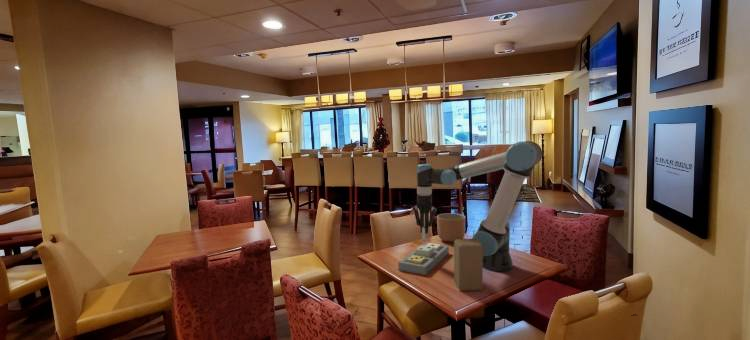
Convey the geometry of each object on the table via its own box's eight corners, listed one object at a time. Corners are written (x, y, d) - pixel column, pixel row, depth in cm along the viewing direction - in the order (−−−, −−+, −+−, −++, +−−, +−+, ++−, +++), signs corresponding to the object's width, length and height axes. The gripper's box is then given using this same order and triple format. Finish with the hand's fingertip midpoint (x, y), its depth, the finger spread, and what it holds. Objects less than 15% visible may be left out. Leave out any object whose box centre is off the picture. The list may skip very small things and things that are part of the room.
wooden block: (475, 281, 162) (476, 237, 160) (483, 291, 152) (483, 245, 150) (453, 282, 161) (453, 238, 159) (459, 292, 152) (459, 245, 149)
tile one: (440, 251, 198) (440, 244, 198) (436, 255, 192) (436, 247, 192) (428, 249, 202) (428, 242, 201) (424, 253, 196) (424, 246, 195)
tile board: (448, 253, 199) (448, 246, 199) (425, 275, 170) (425, 267, 169) (424, 249, 206) (424, 242, 205) (398, 270, 177) (398, 262, 176)
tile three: (425, 264, 179) (425, 256, 179) (420, 269, 173) (420, 261, 173) (412, 262, 183) (412, 254, 182) (407, 267, 177) (407, 258, 176)
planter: (471, 241, 219) (471, 217, 217) (450, 246, 210) (450, 221, 209) (452, 234, 233) (452, 211, 232) (431, 239, 225) (431, 215, 223)
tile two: (433, 254, 189) (433, 246, 188) (428, 258, 183) (428, 250, 182) (421, 252, 192) (421, 244, 192) (416, 256, 186) (416, 248, 186)
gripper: (439, 194, 184) (438, 239, 187) (415, 192, 190) (415, 235, 193) (433, 196, 178) (433, 243, 180) (409, 194, 184) (409, 239, 187)
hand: (424, 239), depth 187 cm, fingers closed
